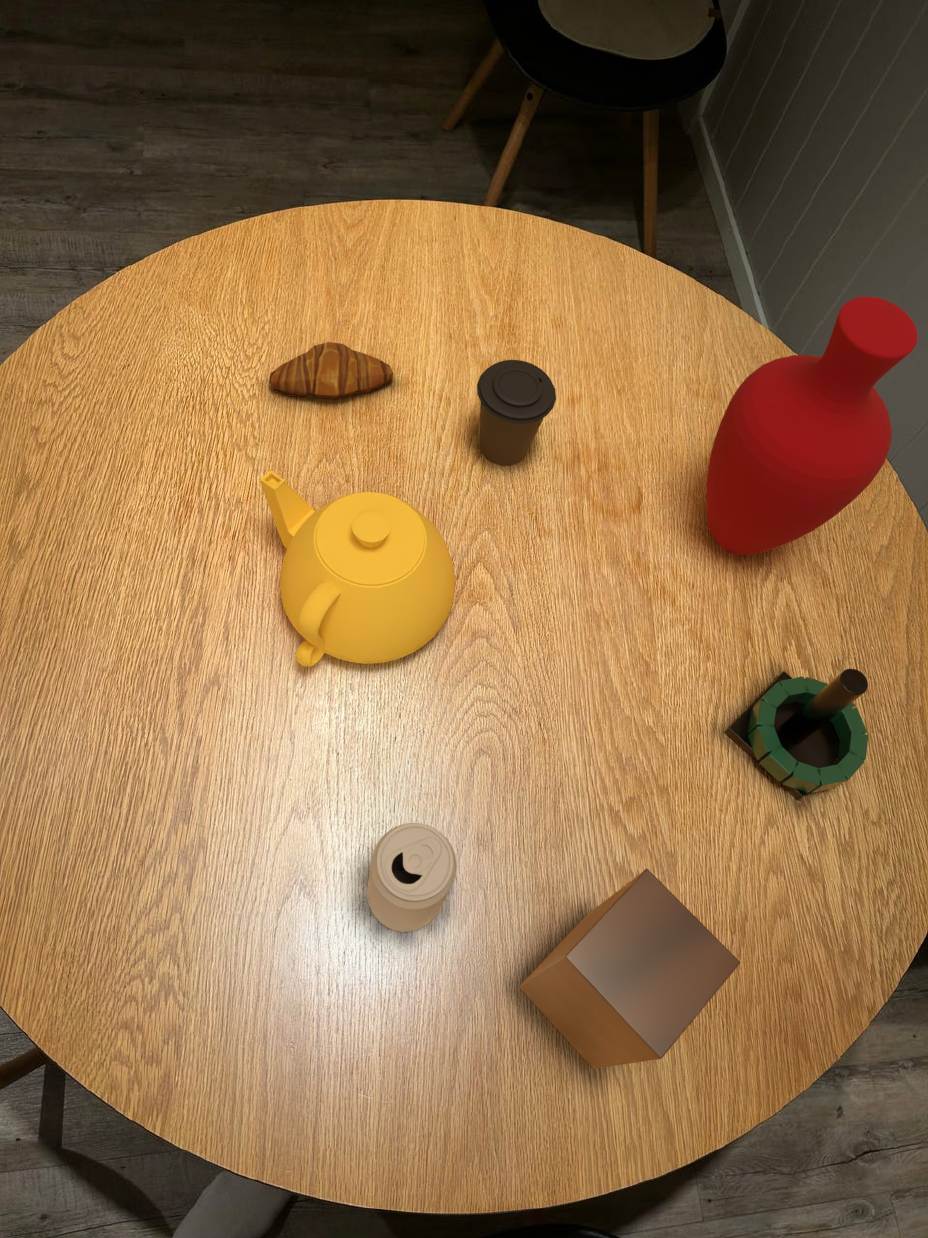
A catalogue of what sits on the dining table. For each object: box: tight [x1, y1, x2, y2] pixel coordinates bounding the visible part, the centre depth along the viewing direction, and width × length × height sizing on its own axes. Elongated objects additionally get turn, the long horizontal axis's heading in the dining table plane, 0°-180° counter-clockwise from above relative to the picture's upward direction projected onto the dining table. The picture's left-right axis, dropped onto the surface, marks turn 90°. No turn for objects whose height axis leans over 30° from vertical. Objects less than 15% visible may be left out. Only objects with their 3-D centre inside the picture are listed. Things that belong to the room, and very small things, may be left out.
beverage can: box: [366, 822, 458, 933], centre depth 74 cm, size 6×6×12 cm
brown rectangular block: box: [518, 868, 741, 1070], centre depth 69 cm, size 8×8×18 cm
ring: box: [748, 676, 869, 794], centre depth 88 cm, size 10×10×2 cm
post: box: [724, 668, 869, 801], centre depth 84 cm, size 9×9×13 cm
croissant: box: [268, 341, 394, 400], centre depth 101 cm, size 14×7×5 cm, turn 101°
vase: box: [705, 296, 918, 556], centre depth 87 cm, size 15×15×30 cm
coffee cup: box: [476, 359, 557, 467], centre depth 98 cm, size 8×8×10 cm
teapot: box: [259, 469, 456, 668], centre depth 86 cm, size 20×19×13 cm
